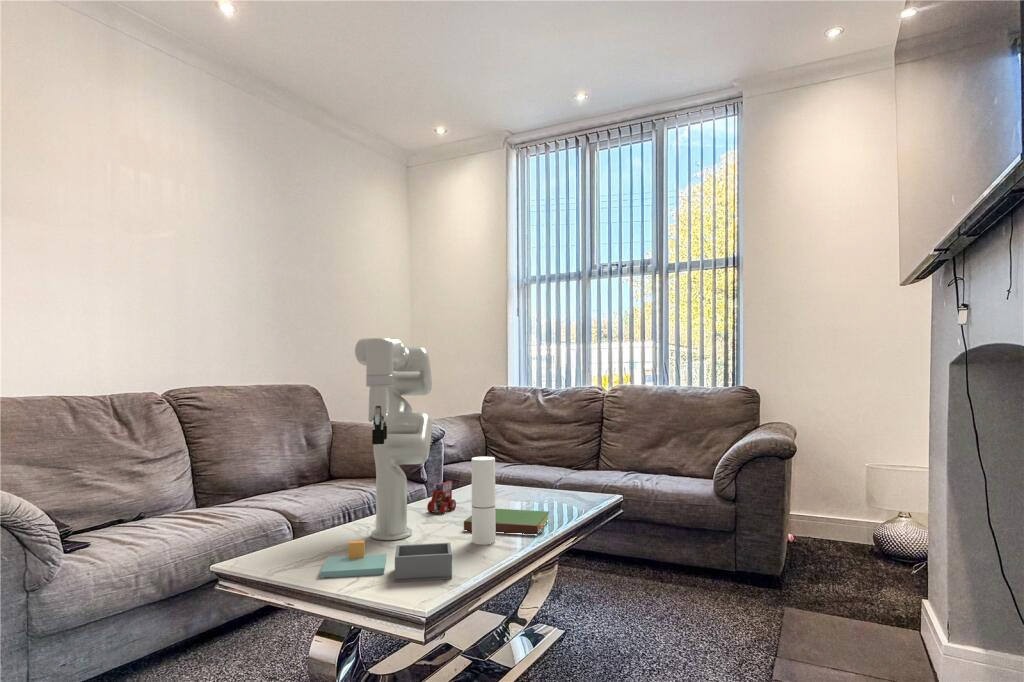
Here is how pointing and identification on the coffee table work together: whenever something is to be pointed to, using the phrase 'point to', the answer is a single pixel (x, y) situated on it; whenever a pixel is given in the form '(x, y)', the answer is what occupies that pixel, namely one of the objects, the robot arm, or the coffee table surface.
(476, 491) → the cylindrical container
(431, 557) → the tub
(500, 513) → the hardcover book
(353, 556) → the lid
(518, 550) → the coffee table surface
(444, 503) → the toy fire truck
